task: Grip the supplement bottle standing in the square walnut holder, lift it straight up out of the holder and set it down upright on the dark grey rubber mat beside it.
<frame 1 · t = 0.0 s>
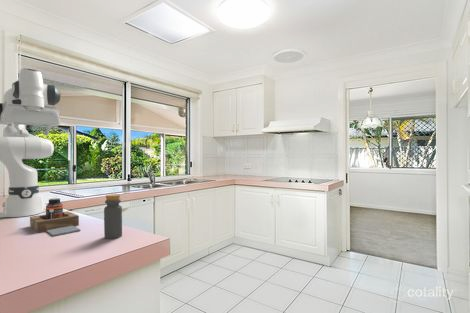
hand: (33, 134, 117), 39 cm above the worktop, tool pointing down, fingers open, 8 cm apart
supplement bottle: (54, 226, 110), resting in walnut holder
bottle: (113, 237, 95), on the worktop
grey mat: (63, 231, 102), on the worktop
walnut holder: (54, 225, 110), on the worktop
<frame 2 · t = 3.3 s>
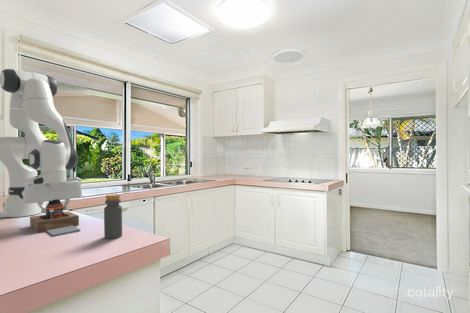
hand: (54, 211, 110), 6 cm above the worktop, tool pointing down, fingers closed on supplement bottle, 6 cm apart
supplement bottle: (54, 226, 110), resting in walnut holder, touching gripper
everything else where it was.
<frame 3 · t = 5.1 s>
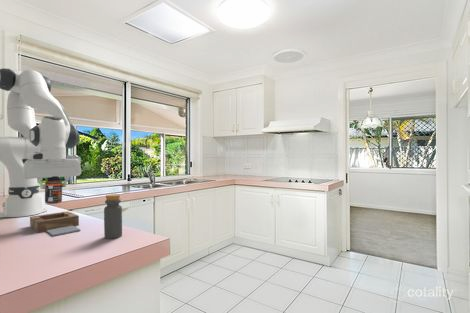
hand: (53, 188, 110), 16 cm above the worktop, tool pointing down, fingers closed on supplement bottle, 6 cm apart
supplement bottle: (53, 203, 110), point 9 cm above the worktop, touching gripper
everything else where it was.
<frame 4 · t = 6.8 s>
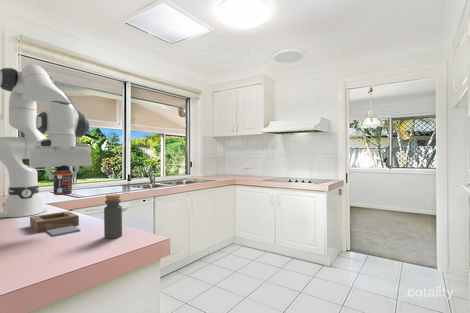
hand: (62, 178, 102), 21 cm above the worktop, tool pointing down, fingers closed on supplement bottle, 6 cm apart
supplement bottle: (63, 194, 102), point 14 cm above the worktop, touching gripper
everything else where it was.
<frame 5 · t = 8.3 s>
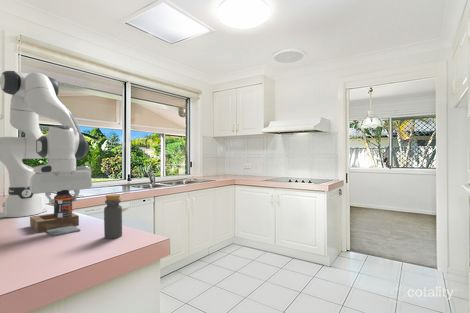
hand: (63, 202, 102), 11 cm above the worktop, tool pointing down, fingers closed on supplement bottle, 6 cm apart
supplement bottle: (63, 219, 102), point 5 cm above the worktop, touching gripper
everything else where it was.
when the fingers open (8 cm above the worktop, at t = 9.9 s): supplement bottle drops 1 cm, resting on grey mat.
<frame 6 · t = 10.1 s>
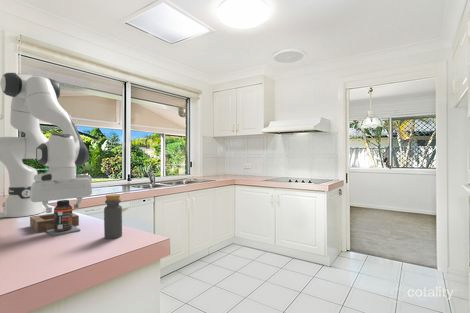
hand: (63, 210, 102), 8 cm above the worktop, tool pointing down, fingers open, 8 cm apart
supplement bottle: (63, 230, 102), resting on grey mat
everything else where it was.
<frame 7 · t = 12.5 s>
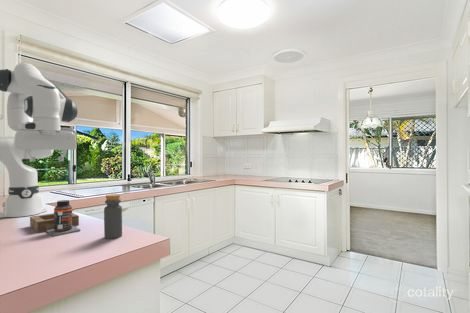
hand: (47, 161, 104), 27 cm above the worktop, tool pointing down, fingers open, 8 cm apart
nothing on the worktop moved.
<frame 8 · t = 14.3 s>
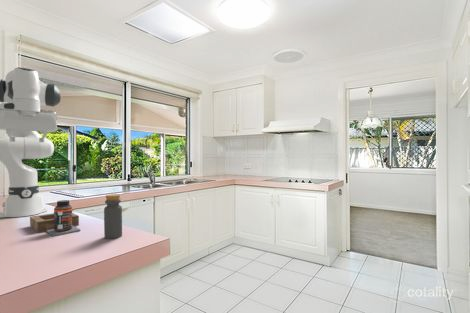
hand: (27, 142, 107), 35 cm above the worktop, tool pointing down, fingers open, 8 cm apart
nothing on the worktop moved.
at the end: supplement bottle 0.1 cm off-centre on the grey mat, point 0.4 cm above the grey mat's base; supplement bottle tilted 0°; the gripper is holding nothing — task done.
